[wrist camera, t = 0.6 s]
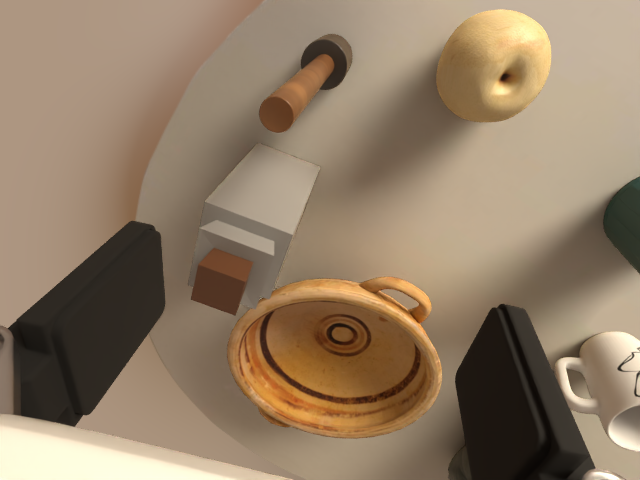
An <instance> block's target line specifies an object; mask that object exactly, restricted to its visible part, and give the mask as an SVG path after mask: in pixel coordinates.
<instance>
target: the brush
mask: <svg viewBox="0 0 640 480" xmlns="http://www.w3.org/2000/svg"><path fill="white" fill-rule="evenodd" d="M351 63H352V50H351V47H350V45H349V43H348V42H347V41H346V40H345V39H344V38H343V37H341V36H339V35H336V34H328V35H325V36H323V37H321V38H319V39H317V40H316V41H314V42H312V43H311V44H310V45H309V46H308V47H307V48H306V49H305V51H304V53H303V55H302V59H301V69H302V70H300V71H299V72H298V73H297V74H296V75H294V76H293V77H292V78H291V79H290V80H288V81H287V82H286V83H285V84H283V85H282V86H281V87H280V88H279V89H277V90H276V91H275V92H274V93H273V94H271V95H270V96H269V97H268V98H267V99H265V100H264V101H263V102H262V104H261V106H260V110H259V116H260V120H261V122H262V124H263V125H264V126H265V127H266V128H267V129H268V130H270V131H272V132H276V133H281V132H285V131H287V130H288V129H289V128H290V127H291V126H292V125H293V123H294V122H295V121H296V119H297V118H298V117H299V115H300V114H301V113H302V111H303V110H304V109H305V107H306V106H307V105H308V103H309V102H310V101H311V100H312V98H313V97H314V96H315V94H316V93H317V92H318V90H319V89H320V90H329V89H332V88H335V87H336V86H338V85H339V84H340V83H341V82H342V80H343V79H344V77H345V75H346V74H347V72H348V70H349V68H350V66H351Z"/></svg>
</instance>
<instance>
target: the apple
mask: <svg viewBox="0 0 640 480" xmlns="http://www.w3.org/2000/svg"><path fill="white" fill-rule="evenodd" d="M550 64H551V46H550V42H549V39H548V36H547V34H546V32H545V30H544V29H543V28H542V27H541V26H540V25H539V24H538V23H537V22H536V21H534V20H533V19H531V18H530V17H528V16H526V15H524V14H522V13H519V12H516V11H510V10H492V11H486V12H482V13H479V14H477V15H474V16H472V17H470V18H469V19H467V20H466V21H464V22H463V23H462V24H461V25H460V26H459V27H458V28H457V29H456V30H455V31H454V33H453V34H452V35H451V37H450V38H449V40H448V42H447V43H446V45H445V47H444V49H443V52H442V54H441V57H440V60H439V64H438V68H437V76H436V82H437V88H438V92H439V94H440V97H441V99H442V100H443V102H444V104H445V105H446V106H447V107H448V108H449V109H450V110H451V111H452V112H453V113H454V114H456V115H457V116H459V117H461V118H463V119H466V120H470V121H474V122H498V121H503V120H506V119H509V118H511V117H513V116H515V115H516V114H518V113H519V112H521V111H522V110H524V109H525V108H526V107H527V106H528V105H529V104H530V103H531V102H532V101H533V100H534V99H535V98H536V96H537V95H538V94H539V92H540V91H541V89H542V88H543V86H544V84H545V82H546V79H547V77H548V73H549V69H550Z"/></svg>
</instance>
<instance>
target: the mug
mask: <svg viewBox="0 0 640 480" xmlns="http://www.w3.org/2000/svg"><path fill="white" fill-rule="evenodd" d="M579 356H580V358H574V357H564V358H561V359H559V360H558V361H557V362H556V365H555V374H556V378H557V381H558V383H559V386H560V388H561V390H562V392H563V395H564V397H565V399H566V402H567V404H568V406H569V408H570V409H571V410H573V411H576V412H580V413H585V414H596V415H598V416H599V418H600V421H601V423H602V426H603V428H604V430H605V432H606V434H607V436H608V437H609V438H610V439H611V441H613V442H614V443H615V444H616V445H618V446H620V447H622V448H625V449H628V450H632V451H637V452H640V341H639V340H637V339H636V338H635V337H633V336H631V335H629V334H627V333H624V332H615V331H613V332H604V333H600V334H597V335H595V336H593V337H591V338H589V339H588V340H587V341H586V342H585V343H584V344H583V345H582V346H581V349H580V353H579ZM566 369H573V370H576V371H579V372H581V373H582V374H583V376H584V378H585V380H586V384H587V387H588V390H589V393H590V396H591V399H583V398H579V397H577V396H576V395H574V393H573V392H572V390H571V388H570V384H569V380H568V375H567V372H566Z"/></svg>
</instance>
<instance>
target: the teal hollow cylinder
mask: <svg viewBox="0 0 640 480" xmlns="http://www.w3.org/2000/svg"><path fill="white" fill-rule="evenodd" d="M603 225H604V230H605V233H606V235H607V237H608V238H609V240H610V241H611V242H612V243H613V245H614V246H615V247H616V248H617V249H618V250H619V252H620V253H621V254H622V255H623V256H624V257H625V258H626V259H627V260H628V262H629V263H630V264H631V265H632V266H633V267H634V268H635V269H636V270H637V272H638V273H639V274H640V177H638V178H636V179H634V180H633V181H631V182H630V183H628V184H627V185H626V186H624V187H623V188H622V189H621V190H620V191H619V192H618V193H617V194H616V195H615V196H614V197H613V199H612V200H611V201H610V203H609V205H608V207H607V209H606V211H605V215H604V221H603Z"/></svg>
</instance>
